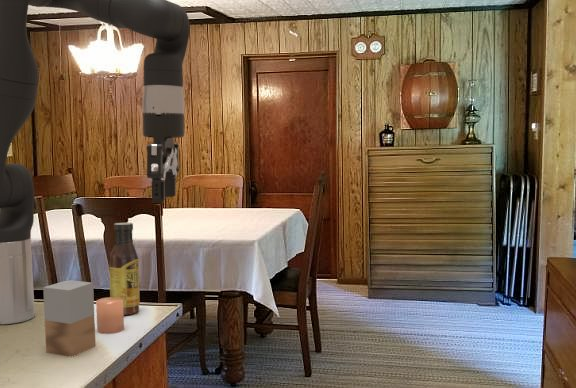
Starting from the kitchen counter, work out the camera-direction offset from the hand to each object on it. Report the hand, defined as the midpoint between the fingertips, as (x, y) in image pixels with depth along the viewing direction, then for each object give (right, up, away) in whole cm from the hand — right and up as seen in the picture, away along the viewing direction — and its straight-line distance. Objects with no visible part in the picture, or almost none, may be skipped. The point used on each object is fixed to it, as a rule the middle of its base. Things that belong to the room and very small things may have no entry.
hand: (164, 199), depth 112 cm
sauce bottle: (-13, -26, +21) cm, 36 cm away
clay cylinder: (-13, -26, +9) cm, 31 cm away
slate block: (-17, -22, -3) cm, 27 cm away
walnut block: (-16, -27, -2) cm, 32 cm away
